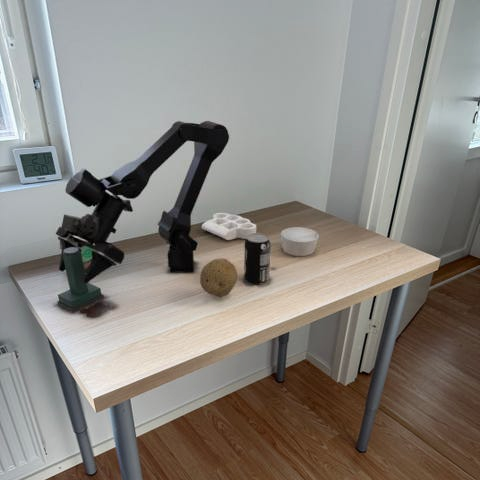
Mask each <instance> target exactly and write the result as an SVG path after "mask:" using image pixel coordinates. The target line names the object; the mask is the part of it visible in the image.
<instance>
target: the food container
mask: <svg viewBox="0 0 480 480" xmlns="http://www.w3.org/2000/svg"><path fill="white" fill-rule="evenodd" d="M86 243H87V242H86ZM93 245H95V244H94V243H93ZM78 248H79V249H81V250H82V251H81V254H82V260H83V265H84V271H85V274H86V271H87V269H88V267H89V265H90V263H91V261H92V251H95V250H94V249H91V248H89V247H86V246H83V247H81V248H80V247H78ZM59 250H62V245H61V243H60V242H59Z"/></svg>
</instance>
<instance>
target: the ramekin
mask: <svg viewBox="0 0 480 480" xmlns="http://www.w3.org/2000/svg"><path fill="white" fill-rule="evenodd" d="M280 238H281V246H282V250H283V251H284V253H285V254H287V255H290V256H293V257H307V256H310V255H312V254H313V253H314V252H315V250H316V248H317V243H318V241H319V238H320V235H319V233H318V232H317V231H315V230H313V229H311V228H307V227H301V226H300V227H297V226H295V227H287V228H285V229H282V231H281V232H280Z"/></svg>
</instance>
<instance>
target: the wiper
mask: <svg viewBox="0 0 480 480" xmlns="http://www.w3.org/2000/svg"><path fill="white" fill-rule="evenodd" d="M63 252H64V253H62V254H63V259H64V264H65V271H66V272H65V273H66V278H67V282H68V288H69V289H67V290H65V291H63V292H61V293H59V294H57V298H58V299H57V301H56V303H57V305H58V306H59V307H61V308H63V309H64V310H67V311H69V312H70V313H73V314H74V313H76V312H79V311H80V310H82V309H84V308H87V307H89V306H92V304H93V305H94V304H95V303H97V302H100V301H102V300H103V299H105V295H104V294H103V293H102V290H101V287H99V286H97V285H94V284H93V283H90V282H88V283H85V282H84V281H83V279H84V276H85V274H86V273H85V271H84V265H83V260H82V254H81V252H79V248H76V247H70V248H66V249H64V251H63Z"/></svg>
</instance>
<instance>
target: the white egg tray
mask: <svg viewBox="0 0 480 480" xmlns="http://www.w3.org/2000/svg"><path fill="white" fill-rule="evenodd" d="M201 229H202V230H204V231H207V232H209V233H210V234H213V235H215V236H218V237H220V238H222V239H224V240H226V241H231V240H235V239H243V240H246V239H247V238H246V237H247V235H249V234H252V233H257V224H256V223H252V222H251V220H250V219H248V218H246V217H242V216H241V215H237V214H230V213H227V212H217V213H214V214H213V215H212V219H209V220H206V221H205V222H204V223H202V224H201Z"/></svg>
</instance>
